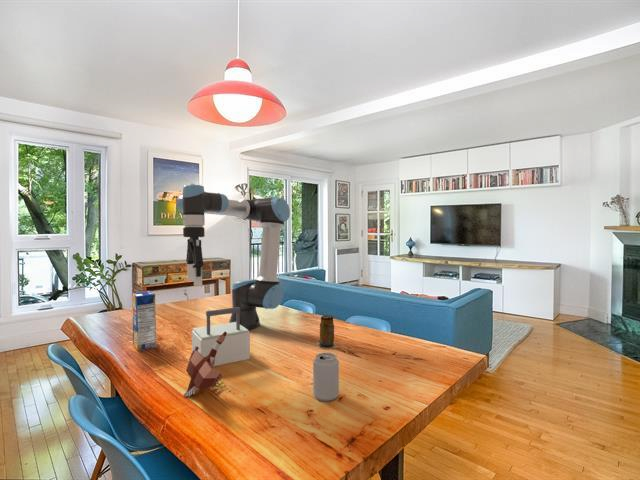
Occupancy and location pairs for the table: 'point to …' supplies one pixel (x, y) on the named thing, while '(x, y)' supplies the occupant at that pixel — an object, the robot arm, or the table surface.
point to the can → (326, 376)
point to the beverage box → (144, 320)
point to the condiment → (327, 333)
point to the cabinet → (224, 348)
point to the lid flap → (221, 325)
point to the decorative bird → (204, 369)
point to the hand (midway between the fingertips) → (194, 283)
